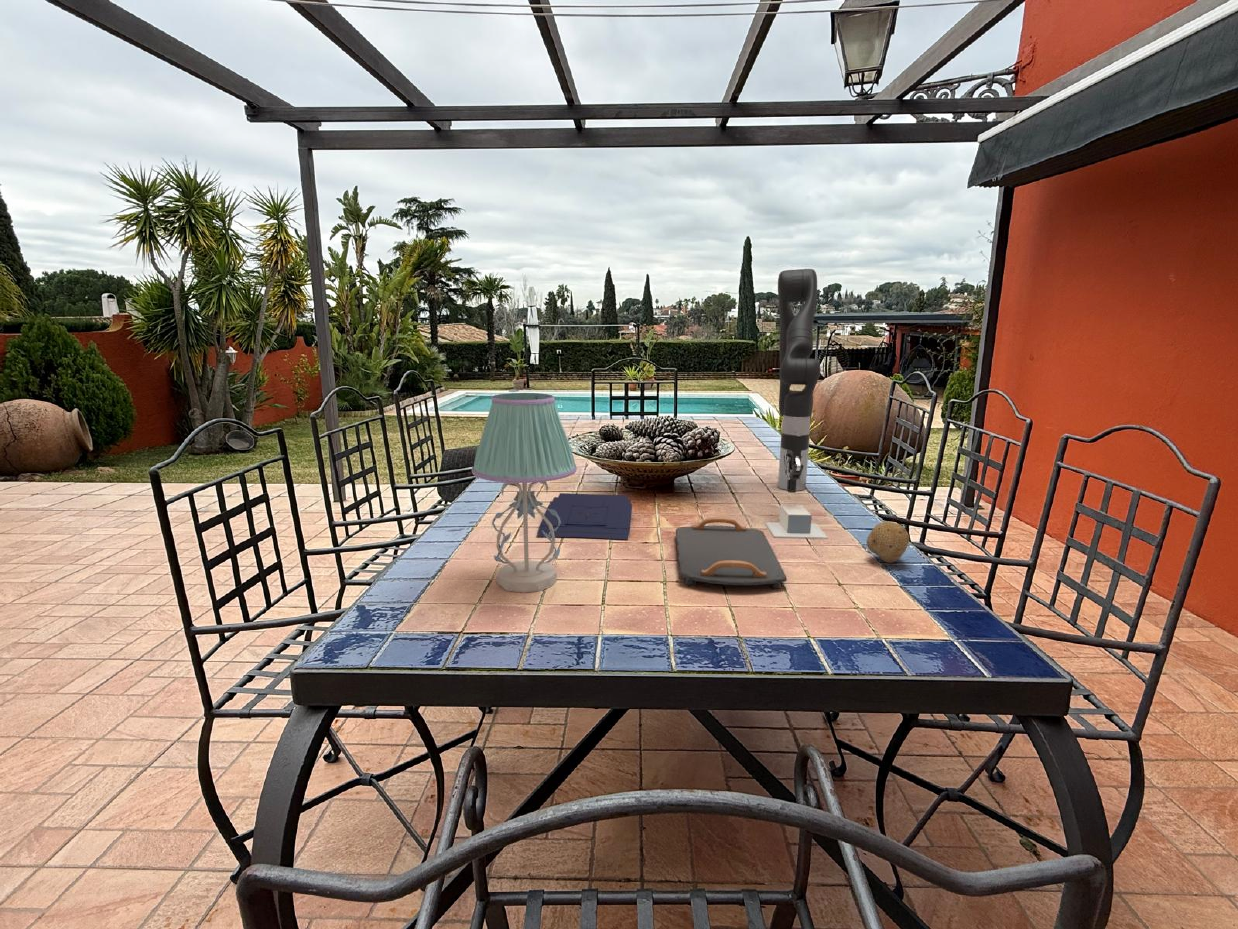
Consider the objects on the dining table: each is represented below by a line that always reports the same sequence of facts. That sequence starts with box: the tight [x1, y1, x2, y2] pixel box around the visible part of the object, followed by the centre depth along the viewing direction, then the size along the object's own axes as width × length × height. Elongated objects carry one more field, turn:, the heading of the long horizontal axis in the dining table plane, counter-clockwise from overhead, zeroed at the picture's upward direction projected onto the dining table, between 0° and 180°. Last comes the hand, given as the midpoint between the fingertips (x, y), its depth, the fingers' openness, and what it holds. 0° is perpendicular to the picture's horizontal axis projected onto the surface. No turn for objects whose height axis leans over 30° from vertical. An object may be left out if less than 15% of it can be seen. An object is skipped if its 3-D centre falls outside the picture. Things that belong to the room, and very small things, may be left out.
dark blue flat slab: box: [536, 492, 633, 540], centre depth 180 cm, size 24×30×4 cm
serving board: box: [675, 516, 788, 591], centre depth 152 cm, size 39×23×6 cm, turn 177°
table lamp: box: [471, 392, 578, 594], centre depth 135 cm, size 22×22×40 cm
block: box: [778, 504, 813, 533], centre depth 176 cm, size 5×6×10 cm
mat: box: [764, 521, 829, 540], centre depth 174 cm, size 12×14×1 cm
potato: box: [866, 520, 910, 564], centre depth 152 cm, size 9×9×10 cm
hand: (791, 492), depth 181 cm, fingers closed
